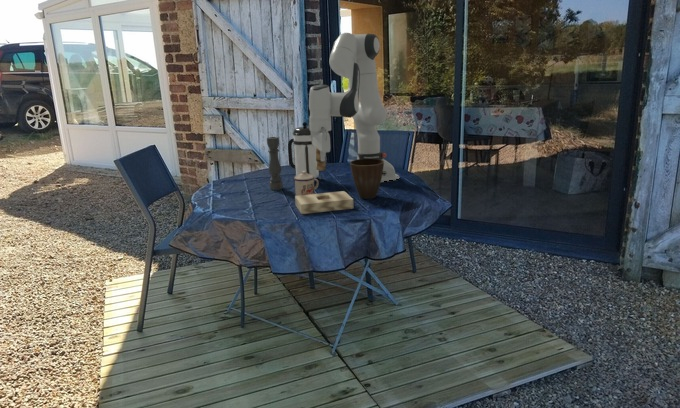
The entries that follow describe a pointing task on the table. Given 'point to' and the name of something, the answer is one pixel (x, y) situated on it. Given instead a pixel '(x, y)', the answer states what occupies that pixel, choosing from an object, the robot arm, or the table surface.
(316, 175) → the coffee press
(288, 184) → the table surface
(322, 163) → the peg
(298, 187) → the teacup with lid
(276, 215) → the table surface
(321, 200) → the block
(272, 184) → the candle holder
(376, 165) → the plant pot
